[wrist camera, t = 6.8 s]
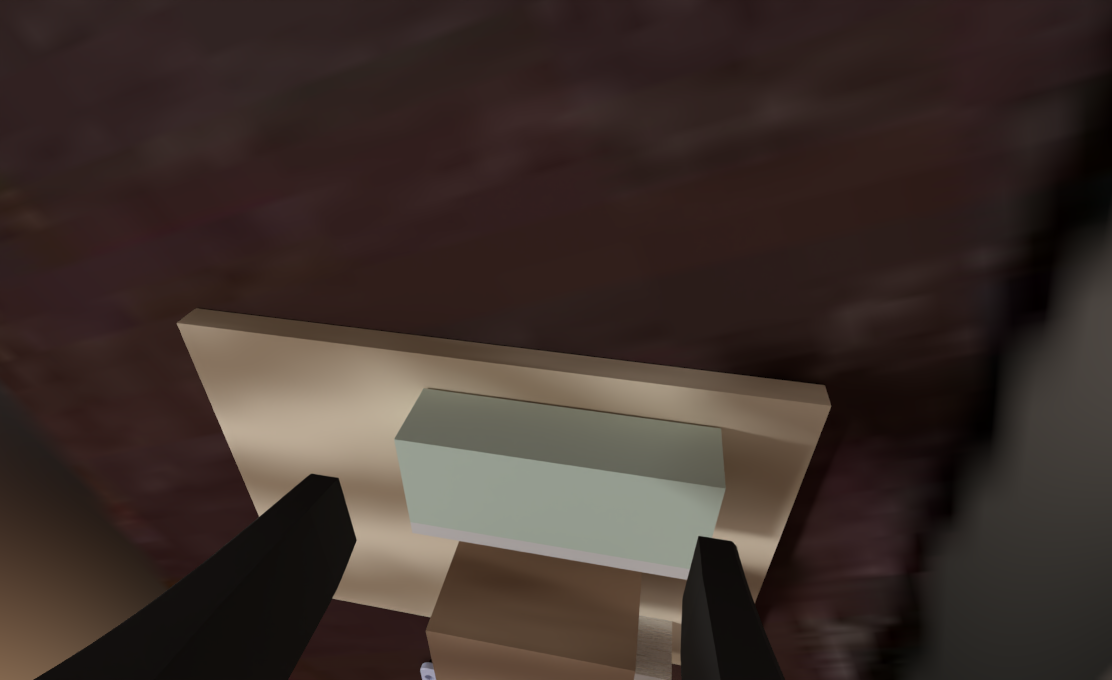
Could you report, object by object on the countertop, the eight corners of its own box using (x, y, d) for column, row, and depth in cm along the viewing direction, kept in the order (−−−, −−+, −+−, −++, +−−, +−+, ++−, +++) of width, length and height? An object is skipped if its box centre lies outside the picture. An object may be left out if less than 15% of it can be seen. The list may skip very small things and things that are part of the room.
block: (635, 590, 24) (625, 719, 20) (475, 562, 25) (436, 681, 21) (643, 539, 22) (635, 671, 18) (470, 510, 23) (425, 630, 19)
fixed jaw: (666, 644, 26) (664, 703, 24) (456, 605, 28) (438, 658, 26) (672, 621, 25) (671, 680, 23) (452, 581, 27) (433, 634, 25)
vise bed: (726, 652, 28) (727, 673, 27) (301, 573, 31) (290, 590, 30) (824, 385, 18) (831, 406, 17) (196, 308, 21) (176, 322, 20)
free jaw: (698, 520, 21) (699, 582, 19) (436, 479, 22) (412, 532, 20) (721, 428, 18) (725, 488, 16) (423, 388, 20) (393, 439, 18)
